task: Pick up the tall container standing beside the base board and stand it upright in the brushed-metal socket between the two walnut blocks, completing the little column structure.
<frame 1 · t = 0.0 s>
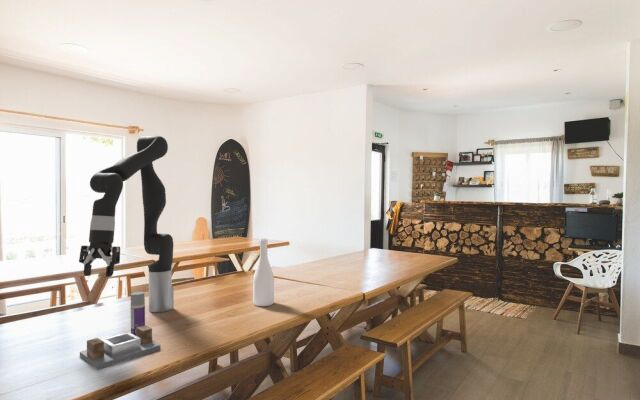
hand: (97, 276, 134), 22 cm above the table, tool pointing down, fingers open, 8 cm apart
container: (138, 334, 140), on the table
base board: (120, 352, 124), on the table
wine bottle: (263, 304, 178), on the table
walnut blocks: (120, 341, 124), on the base board, point 4 cm above the table
socket: (120, 343, 124), on the base board, point 3 cm above the table
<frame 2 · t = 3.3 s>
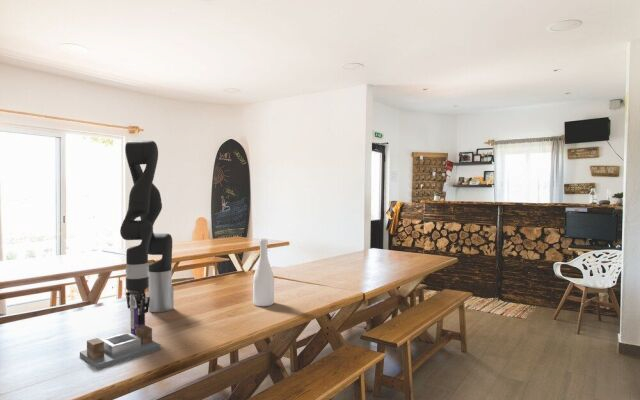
hand: (137, 322, 140), 4 cm above the table, tool pointing down, fingers closed on container, 4 cm apart
container: (138, 334, 140), on the table, touching gripper
everything else where it was.
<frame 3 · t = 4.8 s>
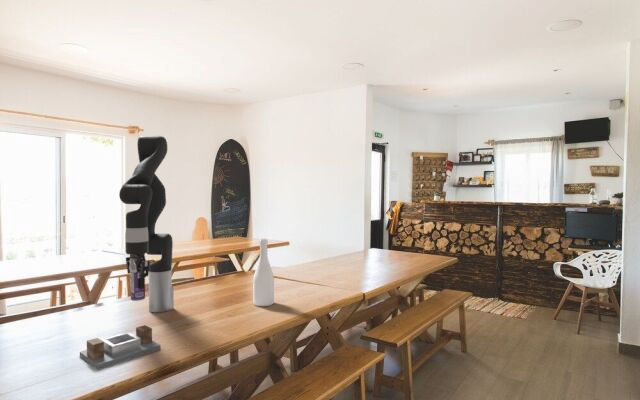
hand: (137, 286, 140), 17 cm above the table, tool pointing down, fingers closed on container, 4 cm apart
container: (138, 299, 140), point 13 cm above the table, touching gripper
everything else where it was.
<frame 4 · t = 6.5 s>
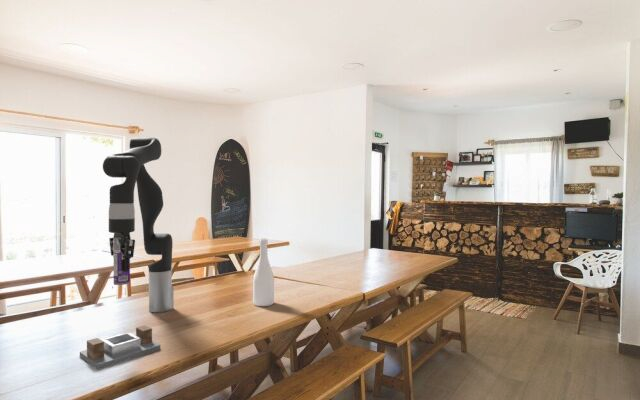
hand: (121, 269, 125), 26 cm above the table, tool pointing down, fingers closed on container, 4 cm apart
container: (121, 284, 125), point 22 cm above the table, touching gripper
everything else where it was.
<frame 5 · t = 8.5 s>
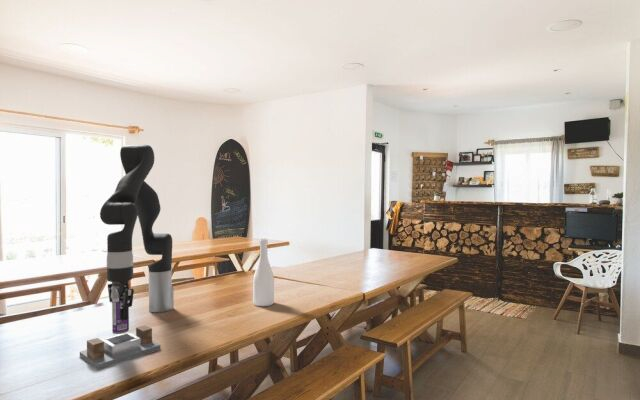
hand: (120, 317, 124), 11 cm above the table, tool pointing down, fingers closed on container, 4 cm apart
container: (120, 332, 124), point 7 cm above the table, touching gripper
everything else where it was.
when the fingers open (7 cm above the table, at t = 9.9 s): container stays where it is, resting on base board.
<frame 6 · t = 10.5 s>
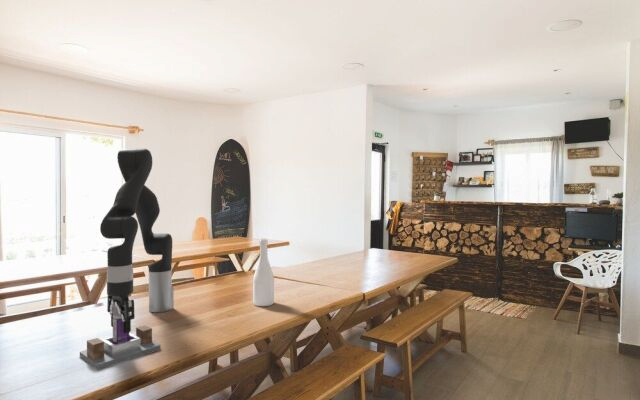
hand: (120, 329, 124), 8 cm above the table, tool pointing down, fingers open, 8 cm apart
container: (121, 348, 124), point 1 cm above the table, touching base board
everything else where it was.
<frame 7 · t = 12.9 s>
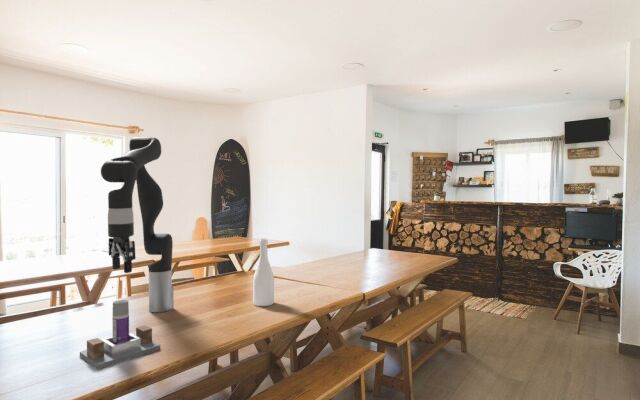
hand: (122, 270, 128), 26 cm above the table, tool pointing down, fingers open, 8 cm apart
nothing on the table moved.
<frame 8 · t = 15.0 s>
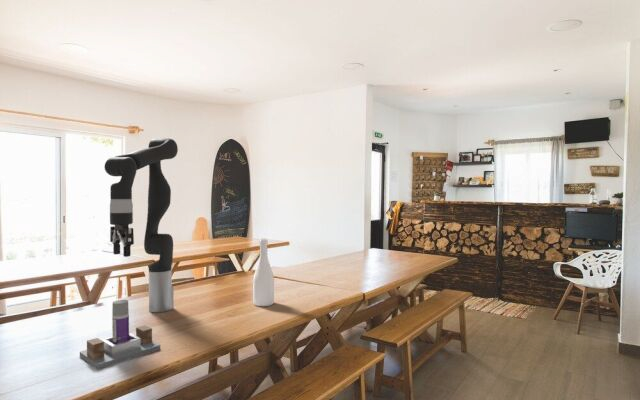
hand: (121, 255, 143), 28 cm above the table, tool pointing down, fingers open, 8 cm apart
nothing on the table moved.
at the end: container 0.1 cm off-centre on the base board, point 1.3 cm above the base board's base; container tilted 0°; the gripper is holding nothing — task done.
